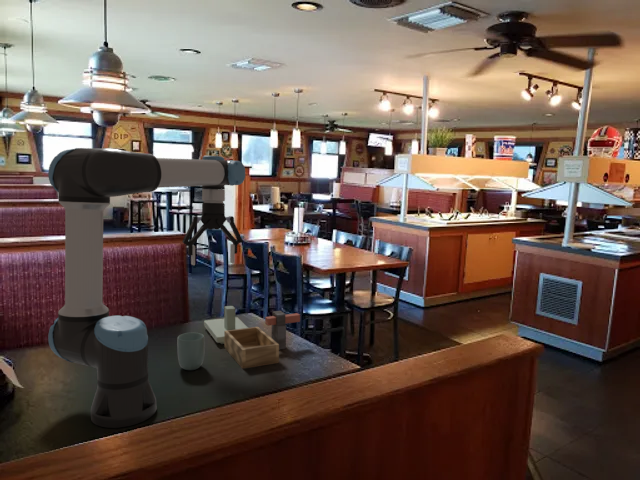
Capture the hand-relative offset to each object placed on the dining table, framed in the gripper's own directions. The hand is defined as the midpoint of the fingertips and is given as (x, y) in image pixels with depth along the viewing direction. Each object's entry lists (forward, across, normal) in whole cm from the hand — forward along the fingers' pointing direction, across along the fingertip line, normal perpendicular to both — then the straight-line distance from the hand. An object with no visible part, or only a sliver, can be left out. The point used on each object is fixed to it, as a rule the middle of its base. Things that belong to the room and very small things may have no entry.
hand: (213, 263), depth 168 cm
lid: (+28, -8, -7) cm, 30 cm away
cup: (+29, +11, +19) cm, 36 cm away
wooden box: (+28, -12, +16) cm, 35 cm away
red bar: (+20, -22, +12) cm, 32 cm away
